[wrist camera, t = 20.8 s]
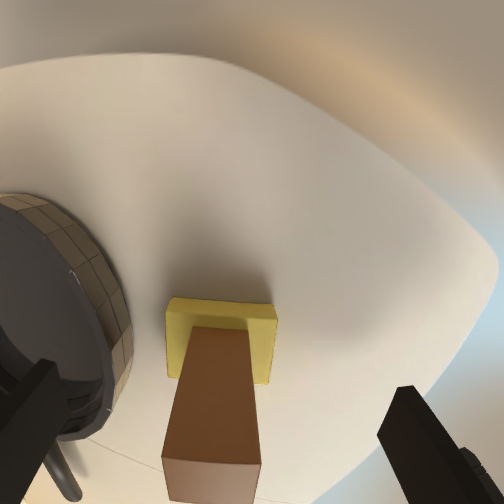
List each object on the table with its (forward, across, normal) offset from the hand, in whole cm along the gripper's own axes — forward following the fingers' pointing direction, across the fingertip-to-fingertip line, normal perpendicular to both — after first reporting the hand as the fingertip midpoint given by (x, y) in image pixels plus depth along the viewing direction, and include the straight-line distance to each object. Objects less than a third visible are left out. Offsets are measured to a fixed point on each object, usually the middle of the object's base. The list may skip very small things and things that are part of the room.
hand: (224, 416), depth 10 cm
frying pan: (+8, -14, -2) cm, 17 cm away
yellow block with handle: (+8, 0, -1) cm, 9 cm away
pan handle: (+6, -14, -15) cm, 22 cm away
